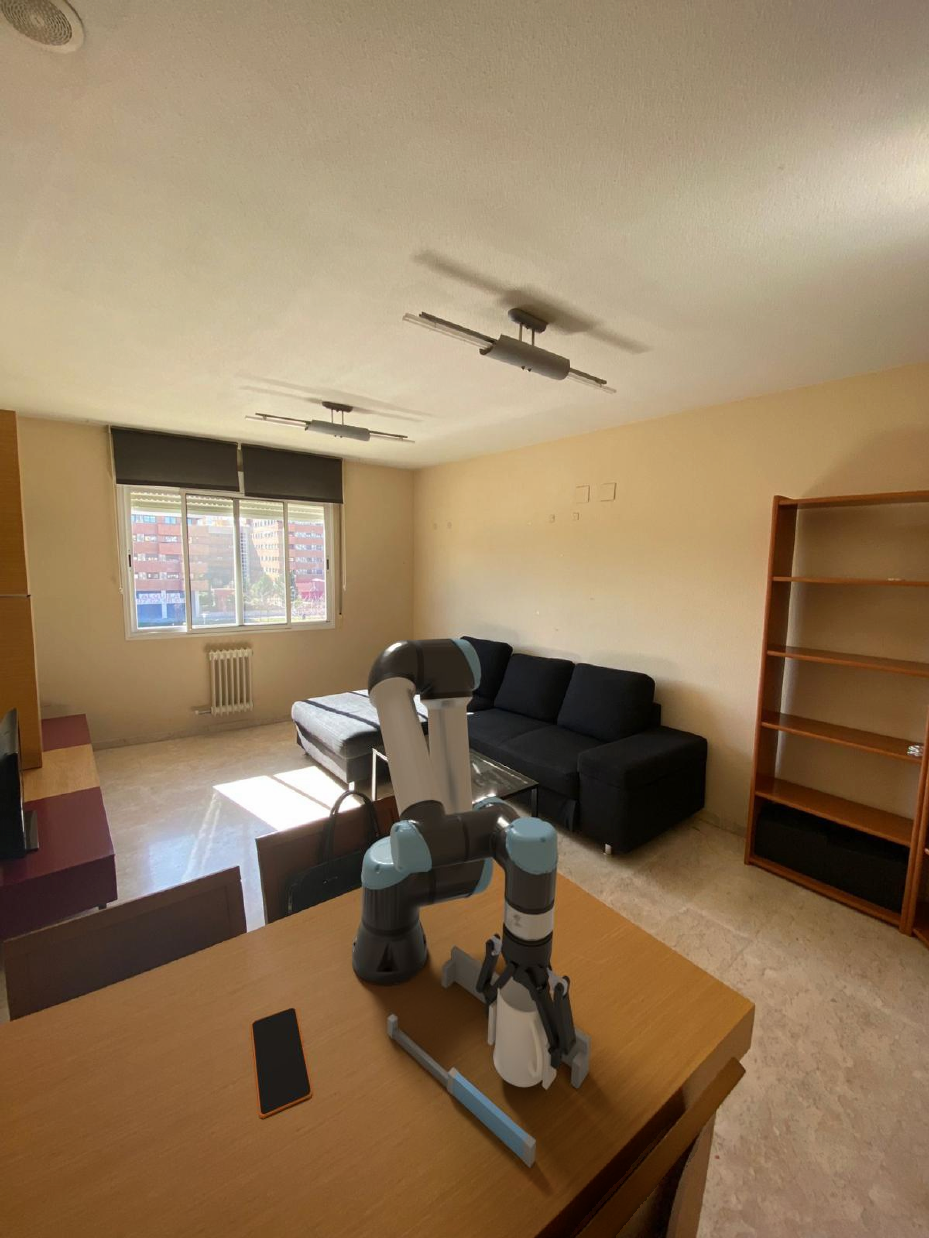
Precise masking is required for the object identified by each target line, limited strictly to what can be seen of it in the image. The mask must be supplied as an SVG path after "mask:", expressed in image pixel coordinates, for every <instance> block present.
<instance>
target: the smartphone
mask: <svg viewBox="0 0 929 1238" xmlns="http://www.w3.org/2000/svg"><path fill="white" fill-rule="evenodd" d="M297 1011H298V1010H297V1008H296V1007H294V1006H291V1007H289V1008H286V1009H283V1010H281V1011H278V1012H275V1013H273V1014H270V1015H267V1016H264V1017H261V1018H259V1019H255V1020H254V1021H252V1022H251V1023H250V1030H251V1042H252V1053H253V1062H254V1063H253V1065H254V1073H255V1085H256V1093H257V1105H258V1107H257V1108H258V1116H259V1118H260V1119H265V1118H268V1117H270V1116H272V1115H275V1114H277V1113H280V1112H282V1111H284V1109H287V1108H290V1107H293V1106H296V1105H298V1104H300V1103H302V1102H304V1101H307V1100H309V1099H310V1098H312V1096H313V1087H312V1082H311V1077H310V1073H309V1068H308V1063H307V1057H306V1052H305V1048H304V1038H303V1035H302V1029H301V1024H300V1019H299V1016H298V1012H297Z"/></svg>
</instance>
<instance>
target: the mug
mask: <svg viewBox="0 0 929 1238" xmlns="http://www.w3.org/2000/svg"><path fill="white" fill-rule="evenodd" d="M537 989H538V988H537ZM546 1044H547V1036H546V1033H545V1030H544V1027H543V1024H542V1021H541V1018H540V1015H539V1012H538V1009H537V1006H536V1003H535V1001H533V1000H532V999H531V996H530V993H529V990H528V989H526V988H525V987H524V986H523V985H522V984H520V983H517V982H516V981H514V980H513V977H511V978H510V980H509V981H508V982H507V984H506V985H505V986H504V987H503V988H502V989H501V990H500V988H498V996H497V1019H496V1041H495V1042H494V1045H495V1046H494V1048H493V1054H492V1055H493V1056H492V1059H493V1064H494V1067H495V1069H496V1072H497V1073H498V1075H499V1076H500V1077H501V1078H502V1079H503V1080H504V1081H506V1083H509V1084H510V1085H513V1086H515V1087H518V1088H529V1087H533V1086H536V1085H538V1084H539V1083H541V1081H543V1067H544V1049H545V1045H546Z"/></svg>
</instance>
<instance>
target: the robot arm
mask: <svg viewBox="0 0 929 1238" xmlns="http://www.w3.org/2000/svg"><path fill="white" fill-rule="evenodd" d="M481 669H482V667H481V663H480V658H479V656H478V654H477V651H476V649H475V648H474V647H473V645H472V644H471V643H470V642H469V641H468V640H466V639H461V638H450V637H448V638H433V639H432V638H430V639H429V638H427V639H401V640H397V641H395V642H393V643H391V644H389V645H388V646H386V647H385V648H384V649H383V650H381V652H380V653H379V654H378V655H377V657H376V658H375V659H374V661H373V663H372V665H371V667H370V670H369V673H368V676H367V681H366V682H367V683H366V684H367V686H366V687H367V688H366V689H367V694H368V700H369V703H370V704H371V706H372V707H373V708H374V709H376V712H377V718H378V723H379V728H380V731H381V736H382V741H383V745H384V750H385V755H386V760H387V764H388V765H387V766H388V768H389V769H388V770H389V774H390V778H391V780H390V781H391V784H392V787H393V792H394V793H393V794H394V797H395V802H396V807H397V812H398V816H399V821H398V822H395V823H393V825H392V827H391V829H390V833H389V834H390V835H389V836H385V837H383V838H381V839H379V840H377V841H376V842H374V843H373V844H372V845H371V846H370V848H368V849H367V850H366V852H365V854H364V856H363V860H362V868H361V870H362V871H361V875H360V878H361V879H360V880H361V921H360V923H359V927H358V929H357V933H356V936H355V938H354V940H353V944H352V948H351V963H352V968H353V970H354V971H355V973H356V974H357V975H358V977H360V978H361V979H362V980H364V981H366V982H368V983H370V984H374V985H378V986H394V985H399V984H402V983H405V982H407V981H409V980H411V979H412V978H414V977H415V976H416V975H418V974H419V973H420V971H421V970H422V968H423V967H424V966H425V964H426V961H427V957H428V941H427V936H426V933H425V931H424V927H423V925H422V921H421V918H420V913H421V912H420V911H421V908H423V907H427V906H432V905H438V904H442V903H446V902H451V901H455V900H456V901H457V900H460V899H469V898H471V897H472V896H476V895H479V894H482V893H484V892H485V891H487V890H488V888H489V886H490V885H491V882H492V879H493V875H494V867H495V866H494V862H496V863H497V864H498V866H499V867H500V868H501V869H502V870H503V871H504V894H503V895H504V897H503V898H504V900H503V923H502V935H501V936H502V937H501V936H500V934H498V933H497V932H496V933H494V934H493V935H492V936H491V937H490V938H489V939H487V941H485V956H484V959H483V961H482V962H483V963H482V964H483V965H482V968H481V971H480V975H479V978H478V981H477V984H476V990H477V992H478V993H481V992H482V993H483V995H484V998H485V1001H486V1004H485V1011H484V1013H485V1018H486V1019H487V1020H488V1025H487V1026H488V1028H487V1031H488V1033H487V1044H488V1045H489V1046H491V1047H492V1046H493V1045H494V1044H495V1041H496V1019H497V995H498V988H500V990H501V989H502V988H503V987H504V986H505V985H506V984H507V982H508V981H509V980H510V978H511V977H513V980H514V981H516V982H517V983H520V984H522V985H523V986H524V987H525V988H526V989H528V990H529V993H530V996H531V999H532V1000H533V1001H535V1003H536V1006H537V1009H538V1012H539V1015H540V1018H541V1021H542V1024H543V1027H544V1030H545V1033H546V1036H547V1039H548V1043H547V1044H546V1045H545V1049H544V1067H543V1079H542V1085H541V1087H543V1088H544V1089H545V1090H546V1091H547V1090H548V1089H549V1087H550V1086H551V1084H552V1083H553V1081H554V1079H555V1078H556V1077H557V1069H558V1068H559V1066H560V1065H561V1063H562V1062H563V1061H562V1057H563V1054H564V1055H566V1056H567V1055H568V1054H569V1053H570V1051H571V1050H572V1048H573V1047H574V1045H575V1044H576V1035H575V1029H574V1027H575V1025H574V1024H575V1023H574V1018H573V1012H572V1006H571V1000H570V994H569V993H570V992H569V991H570V984H571V980H570V978H569V976H567V975H562V977H561V976H560V975H558V974H557V973H555V972H554V971H553V970H554V969H553V967H552V963H551V958H552V951H553V940H554V939H553V935H554V931H553V929H554V924H555V921H554V920H555V900H556V899H555V898H556V888H557V874H558V873H557V872H558V862H559V852H558V851H559V848H558V844H559V843H558V833H557V831H556V829H555V828H554V826H553V825H552V824H551V823H549V822H547V821H543V820H542V818H541V819H540V818H538V817H531V816H529V817H527V816H525V817H521V816H520V815H519V813H518V812H517V811H516V810H515V808H513V807H512V806H511V805H509V804H508V803H507V802H505V801H504V800H502V799H501V798H499V797H495V796H489V797H485V798H483V799H482V800H480V801H479V802H478V803H475V805H474V806H473V791H472V779H471V762H470V761H471V760H470V746H469V745H470V743H469V732H468V731H469V729H468V713H467V712H468V711H467V706H468V705H469V703H470V702H471V700H473V692H474V691H475V690H476V689H478V688H479V686H480V684H481V679H482V678H481V677H482V672H481V671H482V670H481ZM417 694H419V701H420V703H421V704H422V705H424V707H425V708H426V711H427V722H428V725H427V726H428V745H429V747H428V745H427V740H426V738H425V734H424V731H423V727H422V723H421V720H420V716H419V714H418V710H417V705H416V703H415V697H416V695H417ZM500 954H501V956H502V959H503V960H504V962H505V966H506V967H505V968H504V969H503V971H502V972H501V973H500V974H499V978H498V979H497V980H496V982H495V983H494V984H493V986H492V985H491V984H490V983H491V980H492V977H493V973H494V972H495V970H496V966H497V964H498V960H499V958H500ZM537 988H538V989H537Z"/></svg>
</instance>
